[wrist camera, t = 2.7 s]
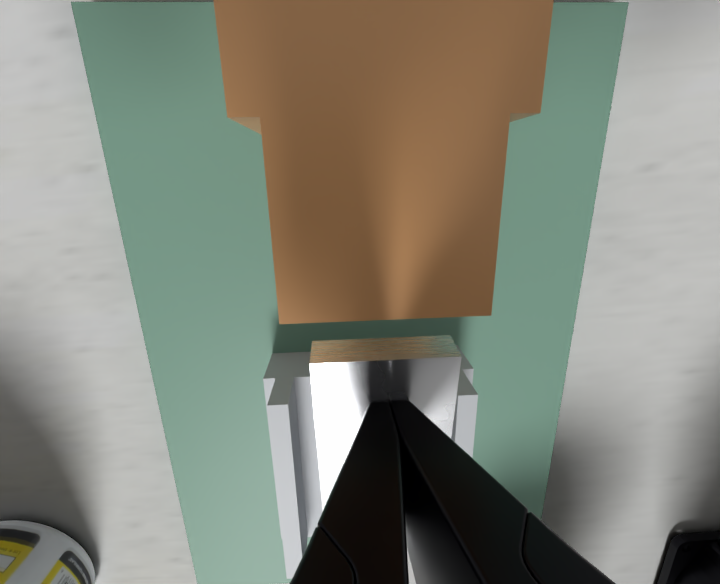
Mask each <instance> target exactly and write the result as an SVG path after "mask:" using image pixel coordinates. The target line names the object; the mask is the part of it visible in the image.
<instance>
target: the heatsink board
mask: <svg viewBox="0 0 720 584" xmlns="http://www.w3.org/2000/svg"><path fill="white" fill-rule="evenodd" d="M628 3H629V2H554V3H553V11H552V20H551V28H550V37H549V45H548V54H547V62H546V71H545V79H544V88H543V97H542V105H541V113H539V114H535V115H532V116H529V117H525V118H522V119H519V120H515V121H512V122H510V123H509V133H508V144H507V155H506V165H505V176H504V186H503V197H502V208H501V218H500V229H499V239H498V250H497V261H496V271H495V282H494V292H493V303H492V314H491V316H469V317H444V318H420V319H395V320H371V321H346V322H322V323H298V324H279V315H278V305H277V294H276V284H275V273H274V262H273V252H272V241H271V230H270V220H269V209H268V199H267V188H266V177H265V167H264V156H263V145H262V135H261V134H259V133H257V132H255V131H253V130H251V129H249V128H247V127H245V126H243V125H241V124H239V123H237V122H235V121H233V120H232V119H230V118H228V117H227V111H226V102H225V94H224V85H223V77H222V69H221V60H220V52H219V43H218V35H217V26H216V18H215V10H214V2H71V5H72V10H73V14H74V19H75V23H76V28H77V33H78V37H79V42H80V46H81V51H82V55H83V60H84V65H85V69H86V74H87V78H88V83H89V88H90V92H91V97H92V101H93V106H94V111H95V115H96V120H97V124H98V129H99V134H100V138H101V143H102V147H103V152H104V157H105V161H106V166H107V170H108V175H109V180H110V184H111V189H112V193H113V198H114V203H115V207H116V212H117V216H118V221H119V225H120V230H121V235H122V239H123V244H124V248H125V253H126V258H127V262H128V267H129V271H130V276H131V281H132V285H133V290H134V294H135V299H136V304H137V308H138V313H139V317H140V322H141V327H142V331H143V336H144V340H145V345H146V350H147V354H148V359H149V363H150V368H151V372H152V377H153V382H154V386H155V391H156V395H157V400H158V405H159V409H160V414H161V418H162V423H163V428H164V432H165V437H166V441H167V446H168V451H169V455H170V460H171V464H172V469H173V474H174V478H175V483H176V487H177V492H178V497H179V501H180V506H181V510H182V515H183V519H184V524H185V529H186V533H187V538H188V542H189V547H190V552H191V556H192V561H193V565H194V570H195V575H196V579H197V584H281V583H290V582H291V580H292V578H293V576H294V574H295V571H296V569H297V567H298V565H299V563H300V561H301V559H302V557H303V555H304V552H305V550H306V548H307V546H308V544H309V541H310V539H311V537H312V534H313V532H314V530H315V528H316V527H317V524H318V521H319V519H320V516H321V514H322V500H321V489H320V477H319V466H318V454H317V443H316V431H315V420H314V408H313V397H312V385H311V374H310V355H311V346H312V341H325V340H348V339H371V338H394V337H417V336H440V335H451V337H452V339H453V341H454V343H455V345H456V347H457V349H458V351H459V353H460V354H461V356H462V358H461V366H460V373H459V381H458V389H457V397H456V405H455V412H454V420H453V428H452V436H451V439H452V440H453V441H454V442H455V443H456V444H457V445H459V446H460V447H461V448H462V449H463V450H464V451H465V452H466V453H467V454H468V455H470V456H471V457H472V458H473V459H474V460H475V461H476V462H477V463H478V464H479V465H481V466H482V467H483V468H484V469H485V470H486V471H487V472H488V473H489V474H490V475H492V476H493V477H494V478H495V479H496V480H497V481H498V482H499V483H500V484H501V485H502V486H504V487H505V488H506V489H507V490H508V491H509V492H510V493H511V494H512V495H513V496H515V497H516V498H517V499H518V500H519V501H520V502H521V503H522V504H523V505H524V506H526V507H527V509H528V512H532V513H533V514H535V515H536V516H537V517H538V518H539V519H540V520H541V517H542V511H543V506H544V500H545V494H546V488H547V482H548V476H549V470H550V464H551V458H552V452H553V446H554V440H555V435H556V429H557V423H558V417H559V411H560V405H561V399H562V393H563V387H564V381H565V375H566V369H567V364H568V358H569V352H570V346H571V340H572V334H573V328H574V322H575V316H576V310H577V304H578V299H579V293H580V287H581V281H582V275H583V269H584V263H585V257H586V251H587V245H588V239H589V233H590V228H591V222H592V216H593V210H594V204H595V198H596V192H597V186H598V180H599V174H600V168H601V162H602V157H603V151H604V145H605V139H606V133H607V127H608V121H609V115H610V109H611V103H612V97H613V91H614V86H615V80H616V74H617V68H618V62H619V56H620V50H621V44H622V38H623V32H624V26H625V20H626V15H627V9H628Z"/></svg>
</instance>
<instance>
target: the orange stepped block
mask: <svg viewBox="0 0 720 584" xmlns="http://www.w3.org/2000/svg"><path fill="white" fill-rule="evenodd" d="M213 1H214V10H215V18H216V26H217V35H218V43H219V52H220V60H221V69H222V77H223V85H224V94H225V102H226V111H227V117H228V118H230V119H232V120H233V121H235V122H237V123H239V124H241V125H243V126H245V127H247V128H249V129H251V130H253V131H255V132H257V133H259V134H261V135H262V145H263V156H264V167H265V177H266V188H267V199H268V209H269V220H270V230H271V241H272V252H273V262H274V273H275V284H276V294H277V305H278V315H279V324H298V323H322V322H346V321H371V320H395V319H420V318H444V317H469V316H491V314H492V303H493V292H494V282H495V271H496V261H497V250H498V239H499V229H500V218H501V208H502V197H503V186H504V176H505V165H506V155H507V144H508V133H509V123H510V122H512V121H515V120H519V119H522V118H525V117H529V116H532V115H535V114H539V113H541V105H542V97H543V88H544V79H545V71H546V62H547V54H548V45H549V37H550V28H551V20H552V11H553V3H554V0H213Z"/></svg>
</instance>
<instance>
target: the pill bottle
mask: <svg viewBox="0 0 720 584" xmlns="http://www.w3.org/2000/svg"><path fill="white" fill-rule="evenodd" d="M0 584H95V571H94V567H93V564H92V562H91V559H90V557H89V556H88V554H87V553H86V551H85V550H84V549H83V548H82V547H81V546H80V545H79V544H78V543H77V542H76V541H75V540H74V539H72V538H71V537H69V536H68V535H66V534H64V533H63V532H61V531H59V530H57V529H54V528H52V527H49V526H46V525H43V524H39V523H34V522H29V521H18V520H9V521H0Z"/></svg>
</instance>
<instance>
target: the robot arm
mask: <svg viewBox="0 0 720 584" xmlns="http://www.w3.org/2000/svg"><path fill="white" fill-rule="evenodd" d="M407 549H408V553H409V557H410V561H411V565H412V569H413V573H414V577H415V581H416V584H616V583H614V582H613V581H612V580H611V579H609V578H608V577H607V576H606V575H604V574H603V573H602V572H601V571H599V570H598V569H597V568H596V567H594V566H593V565H592V564H591V563H590V562H588V561H587V560H586V559H585V558H583V557H582V556H581V555H580V554H579V553H577V552H576V551H575V550H574V549H573V548H572V547H571V546H569V545H568V544H567V543H566V542H565V541H564V540H563V539H561V538H560V537H559V536H558V535H557V534H556V533H555V532H553V531H552V530H551V529H550V528H549V527H548V526H547V525H546V524H544V523H543V522H542V521H541V520H540V519H539V518H538V517H537V516H536V515H535V514H533V513H532V512H528V509H527V507H526V506H524V505H523V504H522V503H521V502H520V501H519V500H518V499H517V498H516V497H515V496H513V495H512V494H511V493H510V492H509V491H508V490H507V489H506V488H505V487H504V486H502V485H501V484H500V483H499V482H498V481H497V480H496V479H495V478H494V477H493V476H492V475H490V474H489V473H488V472H487V471H486V470H485V469H484V468H483V467H482V466H481V465H479V464H478V463H477V462H476V461H475V460H474V459H473V458H472V457H471V456H470V455H468V454H467V453H466V452H465V451H464V450H463V449H462V448H461V447H460V446H459V445H457V444H456V443H455V442H454V441H453V440H452V439H451V438H450V437H449V436H448V435H447V434H445V433H444V432H443V431H442V430H441V429H440V428H439V427H438V426H437V425H436V424H434V423H433V422H432V421H431V420H430V419H429V418H428V417H427V416H426V415H425V414H423V413H422V412H421V411H420V410H419V409H418V408H417V407H416V406H415V405H414V404H412V403H411V402H410V401H409V400H395V401H391V402H390V404H389V402H387V401H376V402H370V404H369V405H368V408H367V410H366V412H365V415H364V417H363V419H362V421H361V424H360V426H359V428H358V431H357V433H356V435H355V438H354V440H353V442H352V445H351V447H350V449H349V452H348V454H347V456H346V459H345V461H344V463H343V465H342V468H341V470H340V472H339V475H338V477H337V479H336V482H335V484H334V486H333V489H332V491H331V493H330V496H329V498H328V500H327V503H326V505H325V507H324V510H323V512H322V514H321V516H320V519H319V521H318V524H317V527H316V528H315V530H314V532H313V534H312V537H311V539H310V541H309V544H308V546H307V548H306V550H305V552H304V555H303V557H302V559H301V561H300V563H299V565H298V567H297V569H296V571H295V574H294V576H293V578H292V580H291V582H290V584H409V574H408V557H407ZM657 584H720V531H716V532H703V533H689V534H680V535H677V536H675V537H674V538H673V539H672V540H671V542H670V545H669V548H668V551H667V555H666V558H665V561H664V564H663V567H662V570H661V574H660V577H659V580H658V583H657Z"/></svg>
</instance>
